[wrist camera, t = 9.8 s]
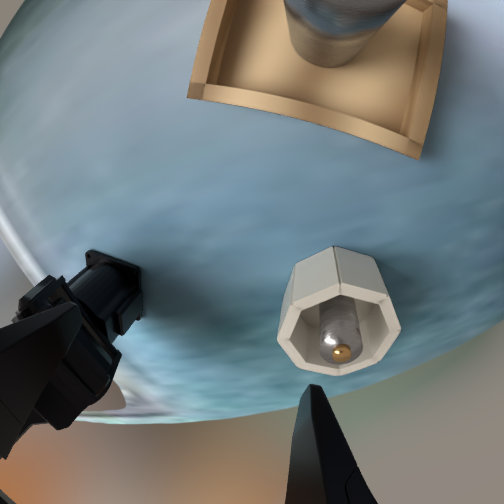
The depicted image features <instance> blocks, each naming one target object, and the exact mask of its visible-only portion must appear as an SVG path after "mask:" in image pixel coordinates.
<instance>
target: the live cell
mask: <svg viewBox="0 0 504 504" xmlns="http://www.w3.org/2000/svg"><path fill="white" fill-rule="evenodd" d="M406 1H407V0H283V2H284V7H285V12H286V18H287V23H288V29H289V35H290V40H291V44H292V46H293V48H294V50H295V51H296V53H297V54H298V55H299V56H300V57H301V58H302V59H304V60H305V61H307V62H309V63H310V64H313V65H315V66H319V67H323V68H336V67H341V66H343V65H346V64H348V63H349V62H351V61H352V60H353V59H354V58H355V57H356V56H357V54H358V53H359V52H360V51H361V50H362V49H363V48H364V46H365V45H366V44H367V43H368V42H369V41H370V40H371V39H372V37H373V36H374V35H375V34H376V33H377V32H378V31H379V30H380V29H381V28H382V26H383V25H384V24H385V23H386V22H387V21H388V20H389V19H390V18H391V17H392V16H393V15H394V13H395V12H396V11H397V10H398V9H399V8H400V7H401V6H402V5H403V4H404V3H405V2H406Z"/></svg>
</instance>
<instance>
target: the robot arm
mask: <svg viewBox="0 0 504 504" xmlns="http://www.w3.org/2000/svg"><path fill="white" fill-rule="evenodd" d="M85 256H86V265H87V267H85V268H84V269H83V270H82V271H81V272H79V273H78V274H77V275H76V276H75V277H73V278H72V279H71V280H70V281H69V282H68V283H66V282H65V281H66V280H65V278H64V277H63V275H62V276H61V277H59V278H58V279H56V278H54V277H52V276H51V275H48V276H47V277H46V278H45V279H43V280H42V281H41V282H40V283H39V284H37V285H36V286H35V287H34V288H32V289H31V290H30V291H29V292H28V293H27V294H25V295H24V296H23V297H22V298H21V299H20V300H19V306H18V310H17V312H16V314H17V315H16V316H15V317H14V318H13V319H12V322H13V324H10V325H8V326H5V327H3V328H0V459H1V458H4V459H5V460H6V459H7V457H8V455H9V453H10V451H11V449H12V447H13V445H14V444H15V443H16V442H17V441H18V440H19V438H21V436H22V435H23V434H24V433H25V432H26V431H27V430H28V429H29V428H30V427H31V426H32V425H37V424H47V423H49V424H50V425H51V426H53V427H54V428H55V429H56V430H61V429H64V428H67V427H69V426H70V425H71V424H72V422H73V421H74V420H75V419H76V418H77V416H78V415H79V414H80V413H81V412H82V411H83V410H84V409H85V408H87V406H89V405H92V404H94V403H96V402H97V401H98V400H100V399H101V398H102V397H103V396H104V395H105V393H106V392H107V390H108V389H109V387H110V385H111V382H112V380H113V377H114V375H115V372H116V369H117V367H118V364H119V361H120V359H121V356H122V354H121V352H120V351H119V350H117V349H116V348H115V347H114V346H113V345H112V343H113V342H114V340H115V339H116V338H117V336H118V335H121V336H123V335H124V334H125V333H126V332H127V330H128V329H129V328H130V326H131V325H132V324H133V322H134V321H135V320H137V321H139V320H140V319H141V318H142V310H143V301H142V290H141V271H140V269H139V268H138V267H137V266H134V265H131V264H128V263H125V262H123V261H120V260H117V259H114V258H111V257H108V256H106V255H103V254H100V253H97V252H95V251H92V250H89V251H87V252H86V253H85ZM134 271H135V272H136V273H135V272H134ZM0 504H16V503H15V502H14V501H12V500H11V499H10V498H9V497H8V496H7V495H6V494H5V493H4V492H3V491H2V490H0ZM285 504H378V503H377V501H376V500H375V498H374V497H373V495H372V493H371V491H370V490H369V488H368V486H367V484H366V482H365V480H364V478H363V476H362V474H361V472H360V469H359V467H358V466H357V463H356V461H355V459H354V456H353V454H352V452H351V450H350V448H349V445H348V443H347V441H346V439H345V437H344V434H343V432H342V430H341V428H340V426H339V423H338V421H337V419H336V417H335V415H334V413H333V411H332V408H331V406H330V404H329V402H328V399H327V397H326V395H325V393H324V391H323V389H322V387H321V386H319V385H315V384H310V385H309V386H308V387H307V389H306V390H305V392H304V393H303V395H302V396H301V399H300V403H299V408H298V413H297V418H296V423H295V427H294V432H293V437H292V445H291V456H290V465H289V474H288V483H287V492H286V499H285Z"/></svg>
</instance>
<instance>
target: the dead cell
mask: <svg viewBox="0 0 504 504" xmlns="http://www.w3.org/2000/svg"><path fill="white" fill-rule="evenodd" d="M319 329H320V355H321V357H322V359H323V360H325V361H326V362H328V363H331V364H336V365H341V364H347V363H350V362H352V361H354V360H355V359H357V358H358V357H359V356H360V355H361V353H362V351H363V343H362V337H361V332H360V326H359V321H358V316H357V311H356V306H355V301H354V298H353V297H349V296H345V295H341V294H340V295H338V296H335V297H333V298H331V299H328V300H326V301H323V302H321V303H319Z"/></svg>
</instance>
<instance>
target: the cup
mask: <svg viewBox="0 0 504 504" xmlns="http://www.w3.org/2000/svg"><path fill="white" fill-rule="evenodd" d="M340 294H341V295H345V296H349V297H353V298H354V301H355V306H356V311H357V316H358V321H359V326H360V332H361V337H362V343H363V351H362V353H361V355H360V356H359V357H358V358H357V359H355V360H354V361H352V362H350V363H347V364H341V365H336V364H331V363H328V362H326V361H325V360H323V359H322V357H321V355H320V329H319V303H321V302H323V301H326V300H328V299H331V298H333V297H335V296H338V295H340ZM400 329H401V327H400V324H399V321H398V318H397V315H396V313H395V310H394V307H393V304H392V302H391V299H390V296H389V294H388V291H387V289H386V286H385V284H384V281H383V279H382V276H381V274H380V271H379V269H378V267H377V264H376V262H375V260H374V259H373V258H372V257H370V256H367V255H364V254H360V253H357V252H354V251H350V250H347V249H343V248H340V247H337V246H335V247H334V248H333V247H330V248H327V249H325V250H323V251H321V252H319V253H317V254H315V255H313V256H311V257H309V258H306V259H304V260H302V261H300V262H298V263H296V266H295V265H294V267H293V270H292V273H291V276H290V279H289V282H288V285H287V288H286V291H285V294H284V297H283V303H282V309H281V316H280V322H279V329H278V335H277V342H278V343H279V344H280V345H281V347H282V348H283V349H284V351H285V352H286V353H287V354H288V356H289V357H290V358H291V360H292V361H293V362H294V363H295V365H296V366H297V367H300V369H304V370H309V371H314V372H319V373H324V374H329V375H334V376H338V375H340V376H342V375H345V374H348V373H351V372H354V371H356V370H359V369H362V368H365V367H368V366H370V365H373V364H376V363H378V361H380V360H381V359H382V358H383V356H384V355H385V354H386V352H387V351H388V349H389V348H390V346H391V345H392V343H393V342H394V341H395V339H396V338H397V336H398V335H399V333H400V332H401V330H400Z"/></svg>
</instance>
